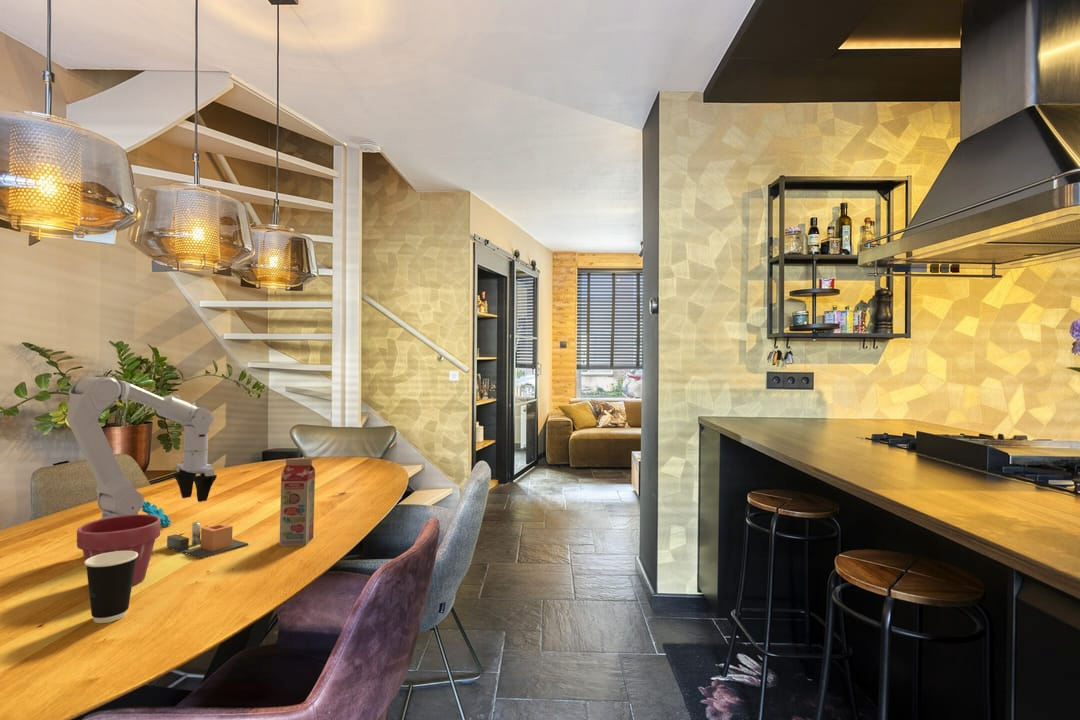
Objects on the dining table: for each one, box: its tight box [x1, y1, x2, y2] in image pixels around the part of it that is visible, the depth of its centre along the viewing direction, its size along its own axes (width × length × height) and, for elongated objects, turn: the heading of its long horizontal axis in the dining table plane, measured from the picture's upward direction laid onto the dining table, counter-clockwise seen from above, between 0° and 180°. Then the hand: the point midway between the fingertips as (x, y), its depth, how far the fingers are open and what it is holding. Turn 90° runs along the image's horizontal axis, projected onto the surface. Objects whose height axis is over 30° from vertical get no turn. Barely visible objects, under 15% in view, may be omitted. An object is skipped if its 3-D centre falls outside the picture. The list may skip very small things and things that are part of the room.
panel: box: [182, 538, 249, 559], centre depth 141 cm, size 12×8×1 cm, turn 151°
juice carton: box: [278, 458, 316, 547], centre depth 148 cm, size 7×7×22 cm
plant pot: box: [76, 514, 161, 586], centre depth 119 cm, size 14×14×13 cm
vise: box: [166, 521, 201, 553], centre depth 146 cm, size 13×6×6 cm, turn 151°
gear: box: [141, 500, 172, 527], centre depth 159 cm, size 11×6×10 cm
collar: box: [200, 523, 234, 551], centre depth 141 cm, size 5×5×5 cm
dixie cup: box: [84, 551, 138, 624], centre depth 103 cm, size 8×8×11 cm
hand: (194, 499), depth 154 cm, fingers open, 7 cm apart
